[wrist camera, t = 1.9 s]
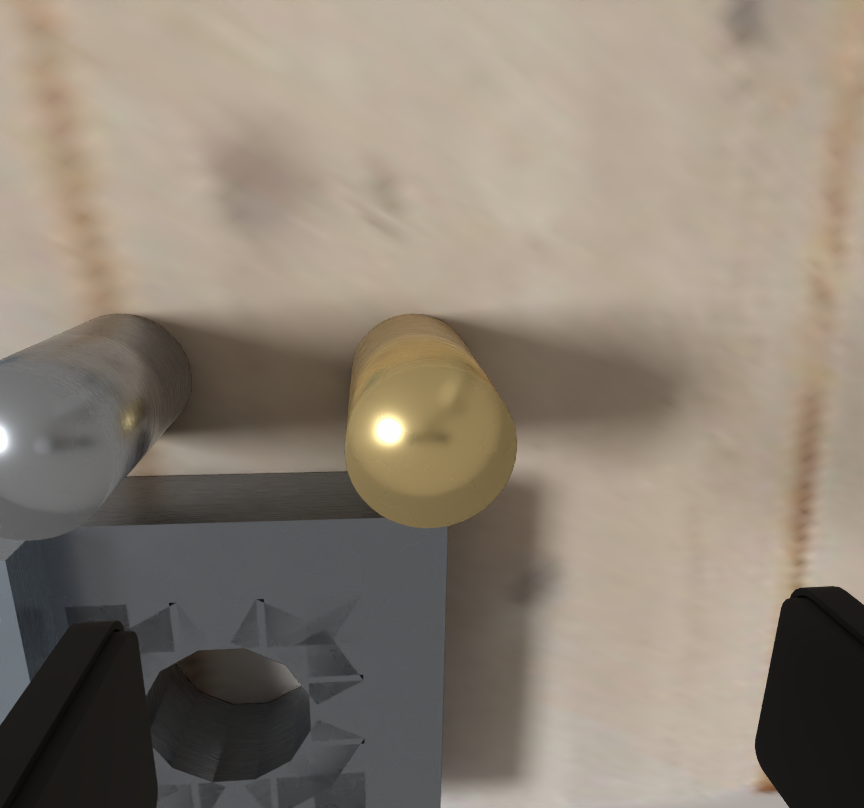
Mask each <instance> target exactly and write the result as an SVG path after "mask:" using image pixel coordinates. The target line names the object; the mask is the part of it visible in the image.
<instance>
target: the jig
mask: <svg viewBox="0 0 864 808" xmlns="http://www.w3.org/2000/svg"><path fill="white" fill-rule="evenodd" d="M447 538H448V526H445V527H439V528H416V527H410V526H406V525H402V524H399V523H396V522H394V521H391V520H389V519H387V518H385V517H384V516H382V515H380V514H379V513H377V512H376V511H375V510H373V509H372V508H371V507H370V506H369V505H368V504H367V503H366V502H365V501H364V500H363V499H362V498H361V496H360V495H359V494H358V492H357V491H356V489H355V487H354V486H353V484H352V482H351V479H350V477H349V474H348V472H318V473H274V474H230V475H185V476H141V477H125V478H124V479H123V481H122V482H121V483H120V484H119V485H118V486H117V488H116V489H115V490H114V491H113V492H112V493H111V494H110V496H109V497H108V498H107V499H106V500H105V501H104V503H103V504H102V505H101V506H100V507H99V508H98V509H97V511H96V512H95V513H94V514H93V515H92V516H91V517H90V518H89V519H88V520H87V521H86V522H84V523H83V524H81V525H80V526H78V527H77V528H75V529H73V530H71V531H69V532H67V533H65V534H62V535H59V536H56V537H53V538H48V539H43V540H32V541H26V540H12V539H5V538H1V537H0V725H1V723H2V722H3V721H4V719H5V718H6V716H7V715H8V713H9V712H10V710H11V709H12V708H13V706H14V705H15V703H16V702H17V700H18V699H19V698H20V696H21V695H22V693H23V692H24V690H25V689H26V688H27V686H28V685H29V683H30V682H31V680H32V679H33V678H34V676H35V675H36V673H37V672H38V670H39V669H40V668H41V666H42V665H43V663H44V662H45V660H46V659H47V658H48V656H49V655H50V653H51V652H52V650H53V649H54V647H55V646H56V645H57V643H58V642H59V640H60V639H61V637H62V636H63V635H64V633H65V632H66V630H67V629H68V628H69V627H70V626H71V625H72V624H73V623H76V622H96V621H117V620H118V621H120V622H121V623H122V625H123V627H124V630H125V631H134V632H135V633H136V634H137V637H138V642H139V650H140V657H141V665H142V672H143V679H144V687H145V694H146V702H147V709H148V717H149V724H150V731H151V739H152V746H153V754H154V761H155V768H156V776H157V783H158V799H157V806H156V808H440V803H441V765H442V727H443V689H444V652H445V614H446V576H447ZM240 648H245V649H247V650H250V651H252V652H255V653H257V654H260V655H262V656H264V657H267V658H269V659H272V660H274V661H277V662H279V663H281V664H284V665H286V667H287V668H288V669H289V670H290V672H291V673H292V674H293V675H294V677H295V678H296V679H297V680H298V682H299V683H300V684H301V685H302V686H300V687H299V688H297V689H295V690H293V691H291V692H289V693H287V694H285V695H284V696H282V697H280V698H278V699H276V700H274V701H272V702H271V703H255V704H237V705H232V704H230V703H227V702H225V701H222V700H219V699H217V698H214V697H212V696H209V695H206V694H204V693H201V692H199V691H198V690H197V689H196V688H195V687H194V685H193V684H192V683H191V682H190V681H189V680H188V679H187V677H186V676H185V675H184V674H183V673H182V672H181V670H180V669H179V668H178V667H177V666H176V662H178V661H180V660H182V659H183V658H185V657H187V656H189V655H191V654H193V653H194V652H196V651H198V650H219V649H240Z"/></svg>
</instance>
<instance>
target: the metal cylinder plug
mask: <svg viewBox="0 0 864 808" xmlns="http://www.w3.org/2000/svg"><path fill="white" fill-rule="evenodd" d="M191 386H192V375H191V369H190V365H189V362H188V359H187V357H186V355H185V353H184V351H183V349H182V348H181V346H180V345H179V343H178V342H177V341H176V340H175V338H174V337H172V336H171V335H170V334H169V333H168V332H167V331H166V330H164V329H163V328H162V327H160V326H159V325H157V324H155V323H154V322H152V321H149V320H147V319H145V318H141V317H138V316H134V315H129V314H110V315H104V316H100V317H97V318H95V319H92V320H90V321H88V322H85V323H83V324H81V325H78V326H76V327H74V328H72V329H69V330H67V331H65V332H63V333H60V334H58V335H56V336H53V337H51V338H49V339H47V340H44V341H42V342H40V343H38V344H35V345H33V346H31V347H28V348H26V349H24V350H22V351H19V352H17V353H15V354H12V355H10V356H8V357H6V358H3V359H1V360H0V537H1V538H5V539H12V540H26V541H32V540H43V539H48V538H53V537H56V536H59V535H62V534H65V533H67V532H69V531H71V530H73V529H75V528H77V527H78V526H80V525H81V524H83V523H84V522H86V521H87V520H88V519H89V518H90V517H91V516H92V515H93V514H94V513H95V512H96V511H97V509H98V508H99V507H100V506H101V505H102V504H103V503H104V501H105V500H106V499H107V498H108V497H109V496H110V494H111V493H112V492H113V491H114V490H115V489H116V488H117V486H118V485H119V484H120V483H121V482H122V481H123V479H124V478H125V477H126V476H127V475H128V474H129V473H130V471H131V470H132V469H133V468H134V467H135V466H136V464H137V463H138V462H139V461H140V460H141V459H142V458H143V456H144V455H145V454H146V453H147V452H148V451H149V449H150V448H151V447H152V446H153V445H154V444H155V442H156V441H157V440H158V439H159V438H160V437H161V436H162V434H163V433H164V432H165V431H166V430H167V429H168V427H169V426H170V425H171V424H172V423H173V422H174V421H175V419H176V418H177V417H178V416H179V415H180V413H181V412H182V411H183V409H184V408H185V406H186V404H187V402H188V399H189V396H190V393H191Z"/></svg>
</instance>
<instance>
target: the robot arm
mask: <svg viewBox="0 0 864 808" xmlns="http://www.w3.org/2000/svg"><path fill="white" fill-rule="evenodd" d="M755 750H756V755H757V759H758V762H759V764H760V766H761V768H762V770H763V771H764V773H765V774H766V775H767V777H768V778H769V780H770V781H771V783H772V784H773V785H774V787H775V788H776V790H777V791H778V792H779V794H780V795H781V797H782V798H783V799H784V801H785V802H786V804H787V805H788V806H789V808H864V605H863V604H862V603H861V602H859V601H858V600H857V599H855V598H854V597H853V596H852V595H850V594H849V593H848V592H847V591H845V590H843V589H842V588H840V587H835V586H828V587H807V588H799V589H796V590H795V591H794V592H793V593H792V594H791V597H790V598H789V599H786V600H785V601H784V602H783V604H782V607H781V612H780V617H779V622H778V627H777V632H776V637H775V642H774V648H773V653H772V658H771V663H770V668H769V673H768V678H767V683H766V688H765V693H764V699H763V704H762V709H761V714H760V719H759V724H758V729H757V734H756V739H755ZM157 799H158V783H157V776H156V768H155V761H154V754H153V746H152V739H151V731H150V724H149V717H148V709H147V702H146V694H145V687H144V679H143V672H142V665H141V657H140V650H139V642H138V637H137V634H136V633H135V632H134V631H125V630H124V627H123V625H122V623H121V622H120V621H118V620H117V621H96V622H76V623H73V624H72V625H71V626H70V627H69V628H68V629H67V630H66V632H65V633H64V635H63V636H62V637H61V639H60V640H59V642H58V643H57V645H56V646H55V647H54V649H53V650H52V652H51V653H50V655H49V656H48V658H47V659H46V660H45V662H44V663H43V665H42V666H41V668H40V669H39V670H38V672H37V673H36V675H35V676H34V678H33V679H32V680H31V682H30V683H29V685H28V686H27V688H26V689H25V690H24V692H23V693H22V695H21V696H20V698H19V699H18V700H17V702H16V703H15V705H14V706H13V708H12V709H11V710H10V712H9V713H8V715H7V716H6V718H5V719H4V721H3V722H2V723H1V725H0V808H156V806H157Z"/></svg>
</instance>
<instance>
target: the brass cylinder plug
mask: <svg viewBox="0 0 864 808" xmlns="http://www.w3.org/2000/svg"><path fill="white" fill-rule="evenodd" d="M516 452H517V437H516V430H515V426H514V423H513V419H512V417H511V415H510V412H509V410H508V408H507V407H506V405H505V404H504V402H503V400H502V399H501V397H500V396H499V394H498V393H497V391H496V390H495V388H494V387H493V385H492V384H491V382H490V381H489V379H488V378H487V376H486V375H485V373H484V372H483V370H482V369H481V367H480V366H479V364H478V363H477V361H476V360H475V358H474V357H473V355H472V354H471V352H470V351H469V350H468V348H467V347H466V345H465V344H464V342H463V341H462V339H461V338H460V336H459V335H458V334H457V333H456V332H455V331H454V330H453V329H452V328H451V327H450V326H448V325H447V324H445V323H444V322H442V321H440V320H438V319H436V318H433V317H430V316H426V315H421V314H404V315H399V316H395V317H392V318H389V319H387V320H385V321H383V322H381V323H380V324H378V325H377V326H375V327H374V328H373V329H372V330H371V331H369V332H368V334H367V335H366V336H365V337H364V338H363V340H362V341H361V343H360V344H359V346H358V348H357V350H356V353H355V356H354V359H353V364H352V373H351V384H350V395H349V406H348V417H347V428H346V439H345V461H346V466H347V470H348V474H349V477H350V479H351V482H352V484H353V486H354V487H355V489H356V491H357V492H358V494H359V495H360V496H361V498H362V499H363V500H364V501H365V502H366V503H367V504H368V505H369V506H370V507H371V508H372V509H373V510H375V511H376V512H377V513H379V514H380V515H382V516H384V517H385V518H387V519H389V520H391V521H394V522H396V523H399V524H402V525H406V526H410V527H416V528H439V527H445V526H450V525H454V524H457V523H460V522H463V521H465V520H467V519H469V518H471V517H473V516H474V515H476V514H478V513H479V512H481V511H482V510H483V509H485V508H486V507H487V506H488V505H490V504H491V503H492V502H493V501H494V500H495V499H496V497H497V496H498V495H499V494H500V492H501V491H502V490H503V488H504V487H505V485H506V483H507V482H508V480H509V478H510V475H511V473H512V470H513V467H514V463H515V460H516Z"/></svg>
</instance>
